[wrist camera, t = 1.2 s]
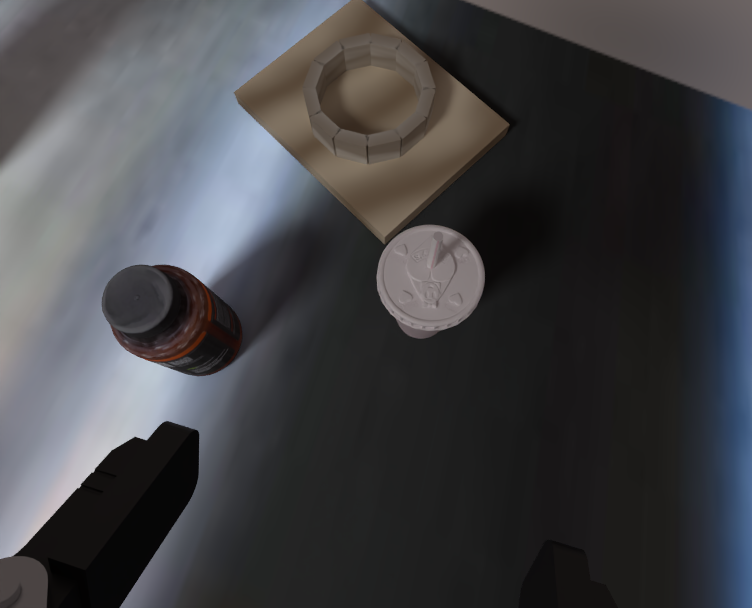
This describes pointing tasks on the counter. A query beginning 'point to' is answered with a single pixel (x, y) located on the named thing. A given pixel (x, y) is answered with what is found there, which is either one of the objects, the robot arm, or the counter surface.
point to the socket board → (371, 117)
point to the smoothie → (430, 279)
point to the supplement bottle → (171, 319)
